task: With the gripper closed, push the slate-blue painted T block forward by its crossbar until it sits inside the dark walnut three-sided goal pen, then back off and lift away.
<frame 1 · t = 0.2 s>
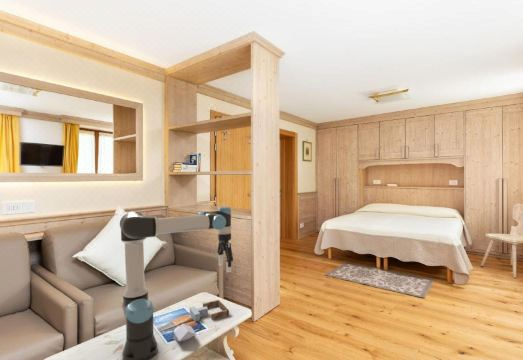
hand: (224, 268, 169), 28 cm above the table, fingers open, 13 cm apart
pale lavender faceted block: (184, 338, 146), on the table
t block: (199, 315, 168), on the table
goal pen: (215, 311, 173), on the table
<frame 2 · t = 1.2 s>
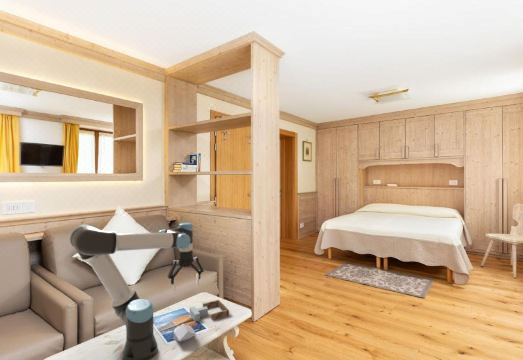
hand: (185, 287, 163), 19 cm above the table, fingers open, 13 cm apart
nothing on the table moved.
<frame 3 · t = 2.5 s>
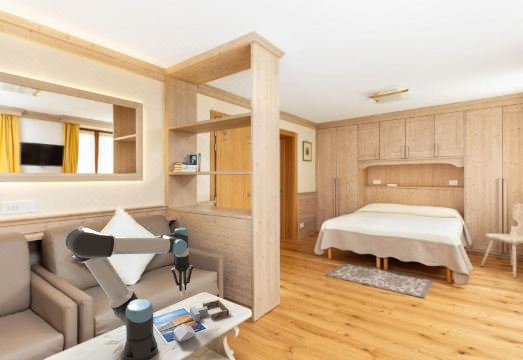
hand: (182, 296, 163), 14 cm above the table, fingers closed
nothing on the table moved.
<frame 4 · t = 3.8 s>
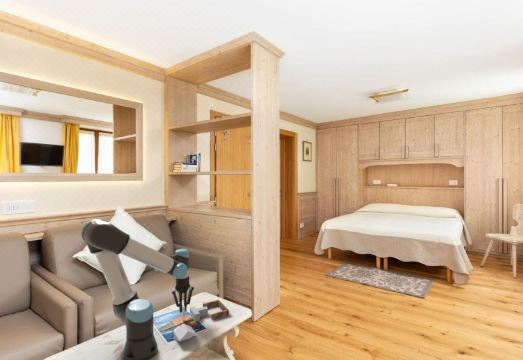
hand: (183, 317, 163), 2 cm above the table, fingers closed
nothing on the table moved.
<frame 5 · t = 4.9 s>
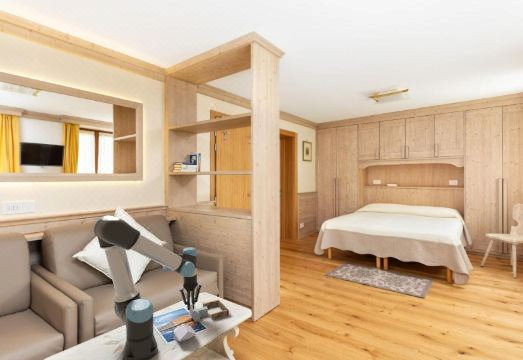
hand: (190, 315, 166), 2 cm above the table, fingers closed
t block: (199, 315, 168), on the table, touching gripper
everything else where it was.
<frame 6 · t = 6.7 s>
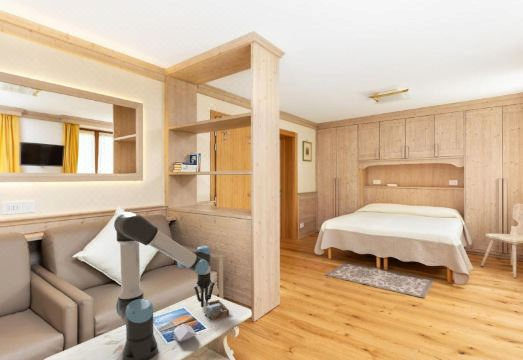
hand: (204, 311, 170), 2 cm above the table, fingers closed
t block: (212, 312, 172), on the table, touching gripper
everything else where it was.
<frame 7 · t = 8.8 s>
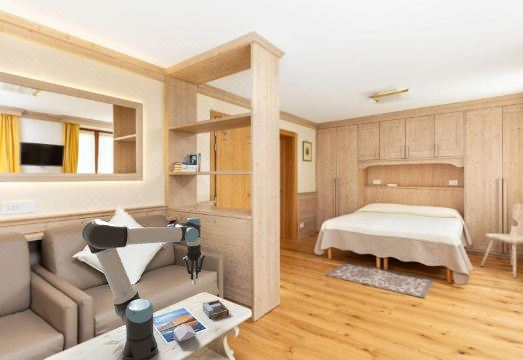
hand: (194, 284, 166), 19 cm above the table, fingers closed
t block: (212, 312, 172), on the table
everything else where it was.
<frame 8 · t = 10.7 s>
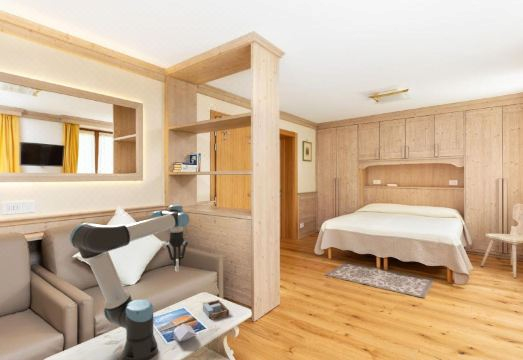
hand: (176, 270, 169), 26 cm above the table, fingers closed
nothing on the table moved.
at the end: t block inside the target area (1.3 cm from its centre), on the table; t block tilted 0° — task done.
